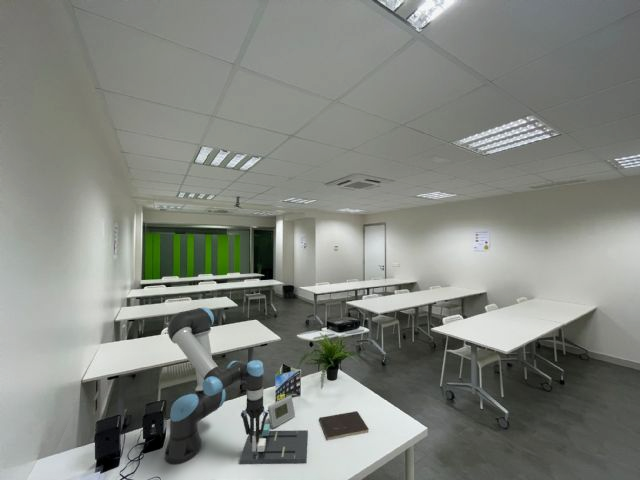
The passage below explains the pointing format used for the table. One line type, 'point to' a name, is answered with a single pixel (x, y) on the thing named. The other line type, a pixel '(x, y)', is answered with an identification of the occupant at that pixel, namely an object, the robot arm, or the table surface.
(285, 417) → the digital clock
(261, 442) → the fader near
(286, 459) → the plate
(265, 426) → the fader far
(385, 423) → the table surface
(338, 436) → the hardcover book
